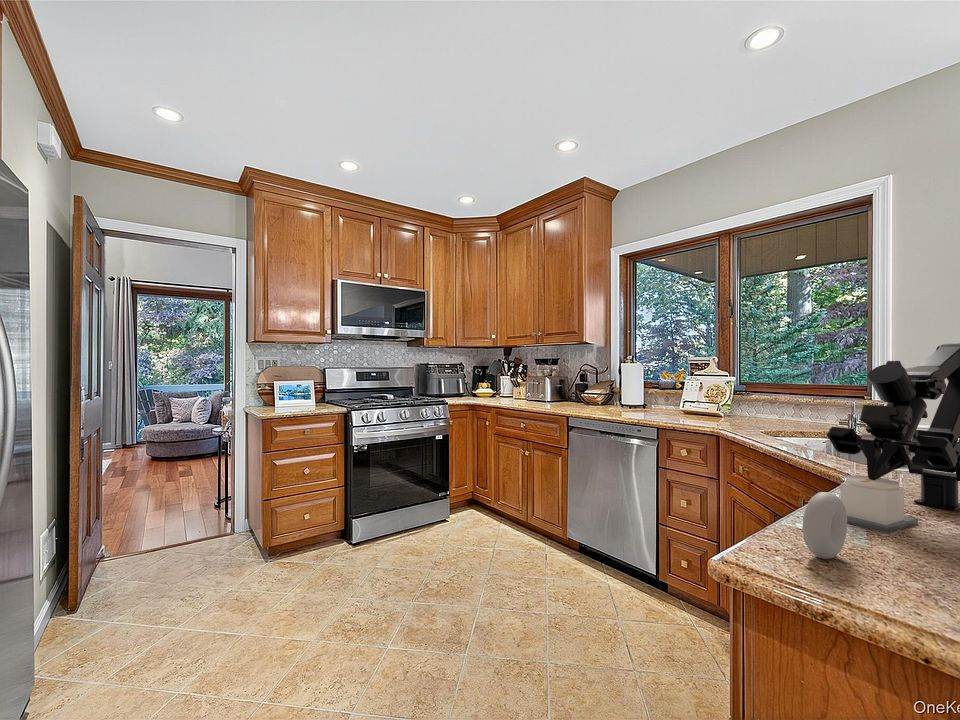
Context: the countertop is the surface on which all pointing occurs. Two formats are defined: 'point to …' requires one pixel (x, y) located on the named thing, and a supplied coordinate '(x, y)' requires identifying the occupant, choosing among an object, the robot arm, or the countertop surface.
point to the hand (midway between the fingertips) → (871, 478)
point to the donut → (825, 525)
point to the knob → (873, 499)
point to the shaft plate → (883, 528)
